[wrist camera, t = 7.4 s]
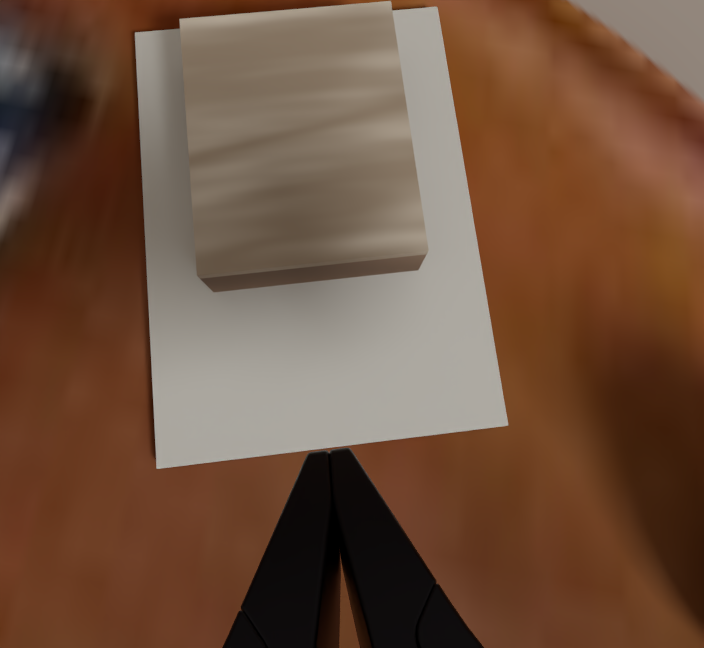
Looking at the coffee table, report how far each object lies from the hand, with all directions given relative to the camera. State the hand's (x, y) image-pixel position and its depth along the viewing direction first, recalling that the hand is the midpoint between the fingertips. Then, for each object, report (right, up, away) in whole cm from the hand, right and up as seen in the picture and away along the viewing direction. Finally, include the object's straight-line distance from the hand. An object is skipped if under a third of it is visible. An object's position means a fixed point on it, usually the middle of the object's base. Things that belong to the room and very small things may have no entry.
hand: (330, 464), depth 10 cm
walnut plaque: (-1, +5, +9) cm, 10 cm away
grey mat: (-1, +7, +11) cm, 13 cm away
